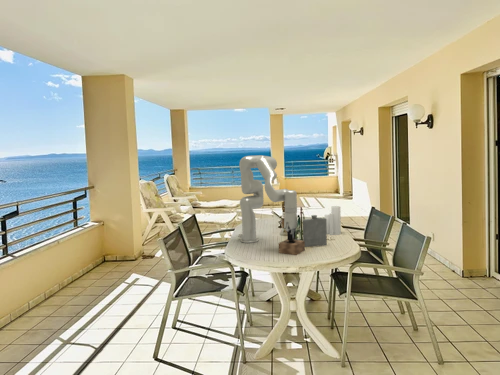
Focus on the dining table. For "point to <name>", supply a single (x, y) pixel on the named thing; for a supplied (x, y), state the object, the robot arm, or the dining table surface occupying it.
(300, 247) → the wooden square hole block
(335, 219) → the vase
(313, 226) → the hip flask
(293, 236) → the grey metal rod
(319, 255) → the dining table surface
